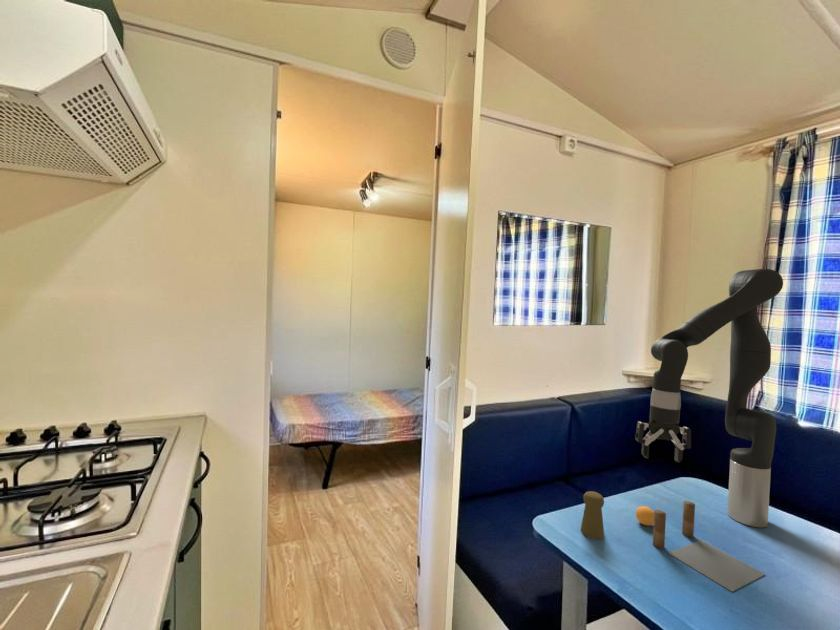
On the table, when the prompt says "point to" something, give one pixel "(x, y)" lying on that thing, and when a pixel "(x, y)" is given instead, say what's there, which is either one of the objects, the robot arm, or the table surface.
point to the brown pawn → (593, 516)
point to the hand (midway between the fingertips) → (661, 459)
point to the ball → (645, 515)
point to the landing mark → (717, 565)
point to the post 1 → (659, 529)
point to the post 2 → (688, 519)
